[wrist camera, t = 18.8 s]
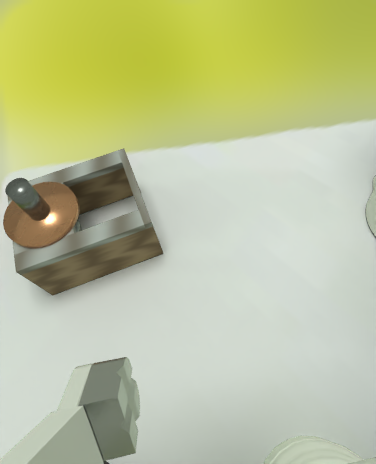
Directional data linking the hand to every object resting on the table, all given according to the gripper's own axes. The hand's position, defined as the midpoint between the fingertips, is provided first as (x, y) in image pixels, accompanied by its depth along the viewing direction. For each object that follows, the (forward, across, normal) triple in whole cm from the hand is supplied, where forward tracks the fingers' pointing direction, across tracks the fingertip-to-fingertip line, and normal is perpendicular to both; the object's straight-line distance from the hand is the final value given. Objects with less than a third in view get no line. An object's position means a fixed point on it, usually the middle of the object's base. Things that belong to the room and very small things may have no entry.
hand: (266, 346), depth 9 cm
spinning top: (+39, +20, +4) cm, 44 cm away
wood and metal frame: (+43, +16, +7) cm, 47 cm away
